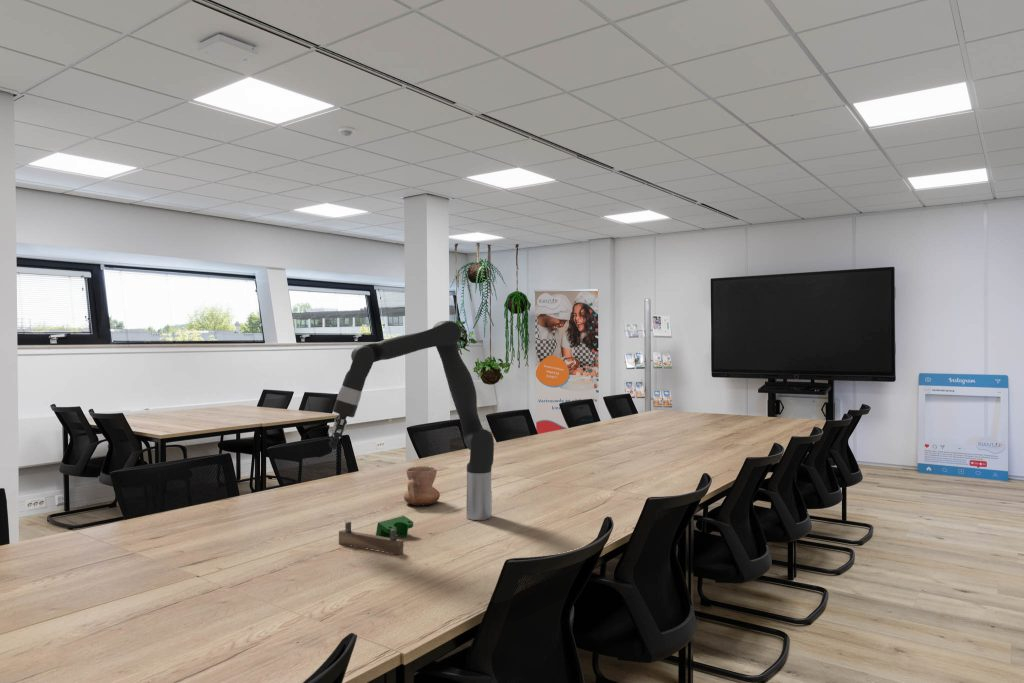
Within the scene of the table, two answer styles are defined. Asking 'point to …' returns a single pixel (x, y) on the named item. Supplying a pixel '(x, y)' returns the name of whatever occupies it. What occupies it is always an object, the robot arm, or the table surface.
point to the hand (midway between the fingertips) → (332, 447)
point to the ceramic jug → (421, 486)
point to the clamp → (394, 526)
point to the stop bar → (371, 540)
